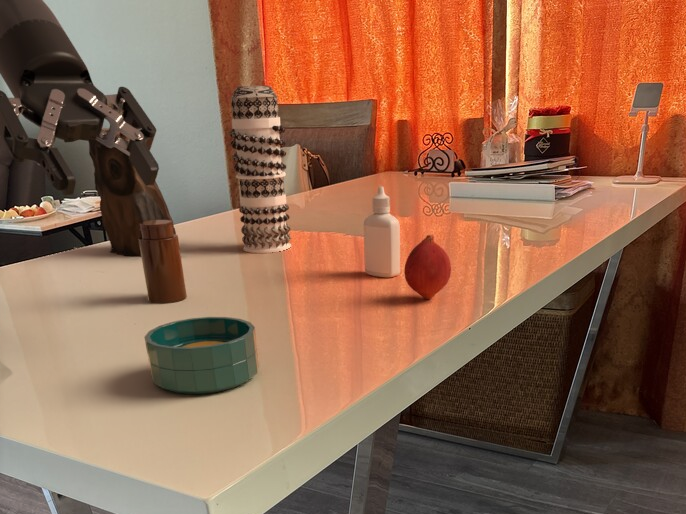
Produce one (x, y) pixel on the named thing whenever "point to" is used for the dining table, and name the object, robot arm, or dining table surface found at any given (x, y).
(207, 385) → the bowl
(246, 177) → the decorative candle
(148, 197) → the owl
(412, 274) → the onion
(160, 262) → the jar
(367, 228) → the eye dropper bottle
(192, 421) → the dining table surface
